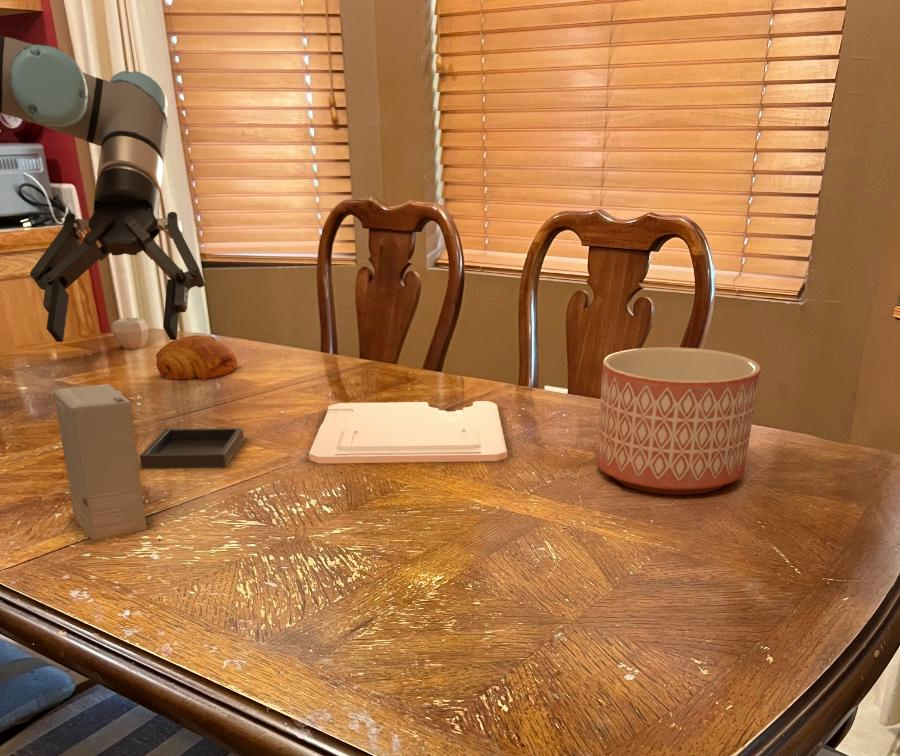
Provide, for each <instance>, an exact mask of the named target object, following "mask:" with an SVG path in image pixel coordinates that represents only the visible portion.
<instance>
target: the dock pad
mask: <svg viewBox="0 0 900 756" xmlns="http://www.w3.org/2000/svg"><path fill="white" fill-rule="evenodd" d="M244 437H245V436H244V429H243V427H227V428H226V427H225V428H224V427H223V428H221V427H219V428H217V427H215V428H214V427H213V428H165V429H164V430H163V431H162V432H161V433H160V434H159V435H158V436H157V437H156V438H155V439H154V440H153V441H152V443H151V444H150V445H148V446H147V448H146V449H145V450H144V451H143V452H142V453H141V454H139V459H140V465H141V469H142V470H151V469H152V470H154V469H157V470H159V469H161V470H163V469H164V470H165V469H221V468H222V469H226V468H227V467H228V465H229V463H230V462H231V461H232V459H233V458H234V456H235V454H236V453H237V452H238V450H239V449H240V447H241V446H242V444H243V443H244V441H245V438H244Z"/></svg>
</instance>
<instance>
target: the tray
mask: <svg viewBox="0 0 900 756" xmlns="http://www.w3.org/2000/svg"><path fill="white" fill-rule="evenodd" d="M507 458H508V450H507V445H506V441H505V435H504V430H503V427H502V421H501V417H500V413H499V408H498V404H496V403H495V402H493V401H489V400H477V401H472V405H470V406H466V407H464V406H463V407H462V409H456V410H455V411H447V410H445V409H443V410H442V409H439V407H434V406H430V405H429V402H427V401H397V402H395V401H394V402H393V401H392V402H385V401H384V402H339V403H334V404H330V405H328V407H327V412H326V415H325V416H324V419H323V421H322V423H321V424H320V426H319V429H318V430H317V433H316V436H315V438H314V441H313V443H312V445H311V447H310V450H309V452H308V460H309V461H311V462H314V463H317V464H368V463H369V464H370V463H374V464H375V463H380V464H381V463H441V462H442V463H443V462H445V463H446V462H451V463H452V462H454V463H455V462H498V461H501V460H504V459H507Z"/></svg>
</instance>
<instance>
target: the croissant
mask: <svg viewBox="0 0 900 756" xmlns="http://www.w3.org/2000/svg"><path fill="white" fill-rule="evenodd" d="M155 358H156V362H155V363H156V368H157V370H158V373H159V375H161V376H162V377H164V378H165V379H168V380H189V381H191V380H198V381H205V380H209V379H215V378H220V377H222V376H226V375H229V374H230V373H231V372H233V371H234V370H235V369H236V368H237V366H238V359H237V357H236V356H235V354H234V353H233V350H231V348H230V347H229V346H227V345H226V344H224V343H223V342H220V341H218V339H216V338H215V337H214V336H207V335H190V336H189V335H188V336H182V337H181V338H177V340H171V341H170V342H168V343H166V344H165V345H164V346H162V347H161V348H160V350H159V351H157V353H156V355H155Z"/></svg>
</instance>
